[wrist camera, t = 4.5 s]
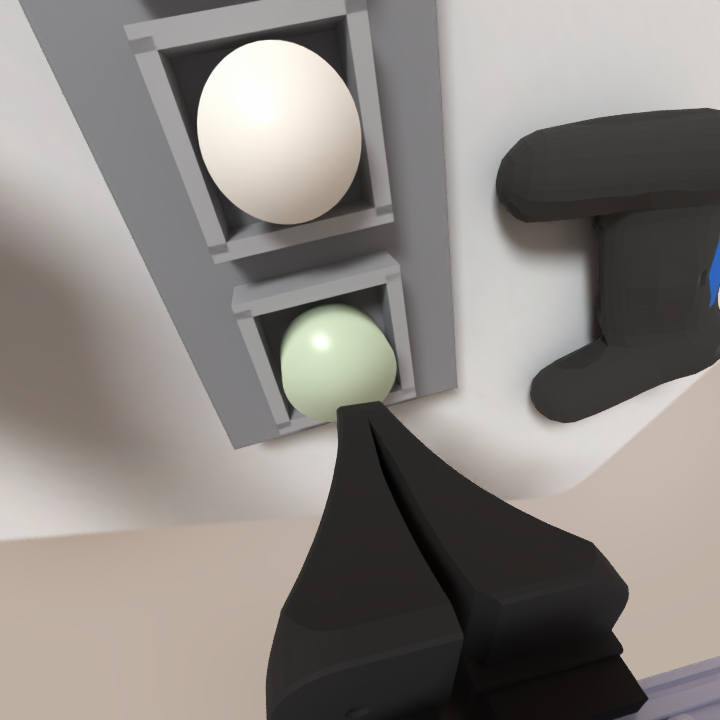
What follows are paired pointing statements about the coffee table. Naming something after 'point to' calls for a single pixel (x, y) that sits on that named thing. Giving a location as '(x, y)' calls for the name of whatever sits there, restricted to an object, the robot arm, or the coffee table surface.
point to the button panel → (249, 234)
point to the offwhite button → (279, 132)
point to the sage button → (335, 360)
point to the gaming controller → (630, 247)
